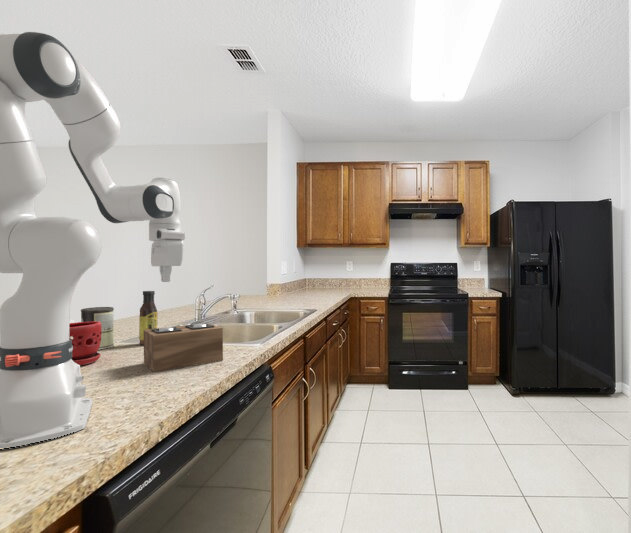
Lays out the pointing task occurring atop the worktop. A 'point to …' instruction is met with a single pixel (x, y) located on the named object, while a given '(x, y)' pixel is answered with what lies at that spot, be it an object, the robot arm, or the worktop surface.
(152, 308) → the sauce bottle
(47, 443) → the worktop surface
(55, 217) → the robot arm
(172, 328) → the near peg
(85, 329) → the plant pot
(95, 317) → the coffee can
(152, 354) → the socket block
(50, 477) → the worktop surface
